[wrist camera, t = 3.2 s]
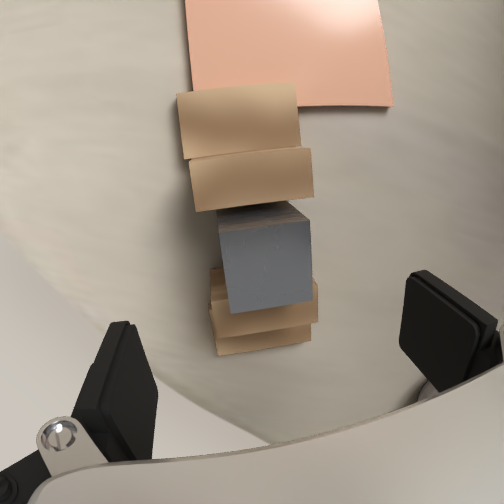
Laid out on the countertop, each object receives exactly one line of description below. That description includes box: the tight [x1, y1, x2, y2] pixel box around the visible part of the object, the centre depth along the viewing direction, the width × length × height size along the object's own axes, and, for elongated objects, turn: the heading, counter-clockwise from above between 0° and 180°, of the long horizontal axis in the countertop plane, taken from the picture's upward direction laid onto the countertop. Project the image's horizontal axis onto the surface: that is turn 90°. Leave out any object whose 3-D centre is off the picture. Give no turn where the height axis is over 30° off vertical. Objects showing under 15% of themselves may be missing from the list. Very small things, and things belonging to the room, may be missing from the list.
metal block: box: [216, 200, 313, 314], centre depth 18 cm, size 4×4×7 cm
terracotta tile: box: [185, 0, 393, 107], centre depth 16 cm, size 13×13×1 cm
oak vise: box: [176, 82, 318, 356], centre depth 19 cm, size 18×7×4 cm, turn 6°
